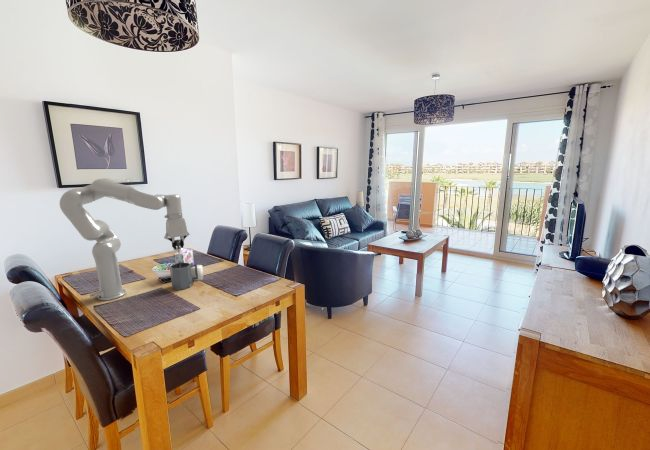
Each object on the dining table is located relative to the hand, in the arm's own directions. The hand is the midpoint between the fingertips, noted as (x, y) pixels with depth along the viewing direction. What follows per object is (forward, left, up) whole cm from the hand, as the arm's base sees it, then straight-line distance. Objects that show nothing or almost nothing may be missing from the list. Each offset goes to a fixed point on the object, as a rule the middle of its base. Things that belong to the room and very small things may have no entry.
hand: (178, 247), depth 164 cm
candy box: (+8, +18, -24) cm, 31 cm away
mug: (+11, +7, -24) cm, 27 cm away
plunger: (0, 0, -16) cm, 16 cm away
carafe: (+2, 0, -24) cm, 24 cm away
